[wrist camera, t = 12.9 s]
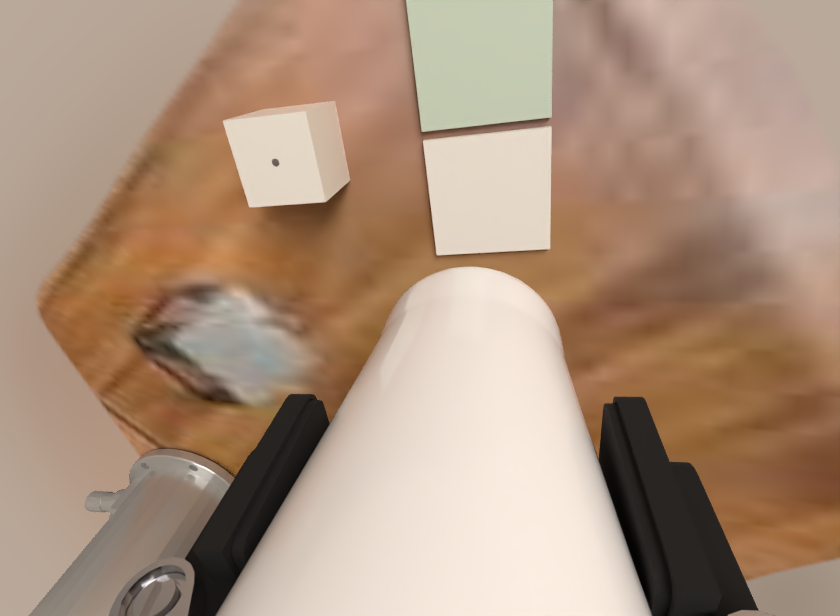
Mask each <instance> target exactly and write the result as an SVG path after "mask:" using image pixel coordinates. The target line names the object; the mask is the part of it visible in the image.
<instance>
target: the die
mask: <svg viewBox="0 0 840 616" xmlns="http://www.w3.org/2000/svg"><path fill="white" fill-rule="evenodd" d="M223 123H224V127H225V130H226V133H227V136H228V140H229V143H230V146H231V149H232V153H233V156H234V159H235V162H236V166H237V169H238V172H239V175H240V178H241V182H242V185H243V188H244V191H245V195H246V198H247V201H248V204H249V208H250V207H264V206H278V205H292V204H306V203H320V202H326V201H328V200H329V199H330V198H331V197H332V196H333V195H334V194H335V193H337V192H338V191H339V190H340V189H341V188H342V187H343V186H344V185H346V184H347V183H348V182H349V181H350V177H349V172H348V166H347V161H346V156H345V151H344V145H343V140H342V135H341V130H340V125H339V119H338V114H337V109H336V104H335V101H330V102H322V103H313V104H305V105H297V106H288V107H280V108H271V109H263V110H259V111H256V112H252V113H249V114H245V115H241V116H238V117H234V118H231V119H227V120H224V121H223Z"/></svg>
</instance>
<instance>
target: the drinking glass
mask: <svg viewBox="0 0 840 616" xmlns="http://www.w3.org/2000/svg"><path fill="white" fill-rule="evenodd" d="M215 616H652V613H651V610H650V607H649V604H648V601H647V598H646V595H645V592H644V590H643V587H642V584H641V581H640V578H639V575H638V572H637V569H636V567H635V564H634V561H633V558H632V555H631V552H630V549H629V546H628V544H627V541H626V538H625V535H624V532H623V529H622V526H621V523H620V521H619V518H618V515H617V512H616V509H615V506H614V503H613V500H612V497H611V494H610V491H609V489H608V486H607V483H606V480H605V477H604V474H603V471H602V468H601V465H600V462H599V459H598V456H597V454H596V451H595V448H594V445H593V442H592V439H591V436H590V433H589V430H588V427H587V424H586V421H585V418H584V415H583V412H582V409H581V406H580V403H579V400H578V397H577V394H576V391H575V388H574V385H573V382H572V379H571V376H570V373H569V370H568V367H567V364H566V359H565V354H564V349H563V344H562V339H561V334H560V331H559V327H558V324H557V322H556V320H555V317H554V315H553V313H552V312H551V310H550V308H549V307H548V305H547V304H546V303H545V301H544V300H543V299H542V298H541V297H540V296H539V295H538V294H537V293H536V292H535V291H534V290H533V289H532V288H531V287H529V286H528V285H526V284H525V283H524V282H522V281H520V280H518V279H517V278H515V277H513V276H510V275H508V274H506V273H503V272H500V271H497V270H493V269H488V268H482V267H457V268H451V269H446V270H443V271H439V272H436V273H434V274H431V275H429V276H427V277H425V278H423V279H421V280H420V281H418V282H417V283H415V284H414V285H413V286H411V287H410V288H409V289H408V290H407V291H406V292H405V293H404V294H403V295H402V296H401V297H400V298H399V300H398V301H397V302H396V304H395V305H394V307H393V309H392V310H391V312H390V314H389V317H388V319H387V321H386V323H385V326H384V328H383V330H382V333H381V335H380V337H379V340H378V342H377V343H376V345H375V347H374V349H373V350H372V352H371V354H370V356H369V357H368V359H367V361H366V363H365V364H364V366H363V368H362V369H361V371H360V373H359V375H358V376H357V378H356V380H355V382H354V383H353V385H352V387H351V388H350V390H349V392H348V393H347V395H346V397H345V399H344V400H343V402H342V404H341V405H340V407H339V409H338V410H337V412H336V414H335V416H334V417H333V419H332V421H331V422H330V424H329V426H328V427H327V429H326V431H325V432H324V434H323V436H322V438H321V439H320V441H319V443H318V444H317V446H316V448H315V449H314V451H313V453H312V454H311V456H310V458H309V459H308V461H307V463H306V465H305V466H304V468H303V470H302V471H301V473H300V475H299V476H298V478H297V480H296V481H295V483H294V485H293V486H292V488H291V490H290V491H289V493H288V495H287V496H286V498H285V500H284V501H283V503H282V505H281V506H280V508H279V510H278V511H277V513H276V515H275V516H274V518H273V520H272V521H271V523H270V525H269V526H268V528H267V530H266V531H265V533H264V535H263V536H262V538H261V540H260V541H259V543H258V545H257V546H256V548H255V550H254V551H253V553H252V555H251V557H250V558H249V560H248V562H247V563H246V565H245V567H244V568H243V570H242V572H241V573H240V575H239V577H238V578H237V580H236V582H235V583H234V585H233V587H232V588H231V590H230V592H229V593H228V595H227V597H226V598H225V600H224V602H223V603H222V605H221V607H220V608H219V610H218V612H217V613H216V615H215Z"/></svg>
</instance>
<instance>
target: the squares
mask: <svg viewBox="0 0 840 616" xmlns="http://www.w3.org/2000/svg"><path fill="white" fill-rule="evenodd" d="M406 4H407V13H408V21H409V29H410V38H411V46H412V54H413V63H414V71H415V79H416V87H417V96H418V104H419V112H420V121H421V129H422V132H426V131H434V130H443V129H452V128H461V127H470V126H479V125H488V124H497V123H505V122H514V121H523V120H532V119H541V118H550V117H552V27H553V0H406ZM423 146H424V154H425V162H426V171H427V179H428V187H429V196H430V204H431V212H432V221H433V229H434V237H435V246H436V254H437V255H452V254H470V253H488V252H506V251H524V250H542V249H550V207H551V126H547V127H538V128H529V129H520V130H511V131H501V132H492V133H483V134H474V135H465V136H456V137H446V138H437V139H428V140H424V141H423Z"/></svg>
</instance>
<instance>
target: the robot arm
mask: <svg viewBox="0 0 840 616" xmlns="http://www.w3.org/2000/svg"><path fill="white" fill-rule="evenodd" d="M328 426H329V421H328V417H327V414H326V411H325V407H324V404H323V402H322V401H320V400H317V398H316V396H315V395H313V394H291V395H289V396H288V397H287V398H286V400H285V401H284V403H283V405H282V406H281V408H280V410H279V411H278V413H277V414H276V416H275V418H274V419H273V421H272V423H271V424H270V426H269V427H268V429H267V431H266V432H265V434H264V436H263V437H262V439H261V440H260V442H259V444H258V445H257V447H256V449H255V450H253V451H252V452H251V454H250V455H249V456H248V458H247V459H246V461H245V462H244V464H243V466H242V467H241V469H240V470H239V472H238V474H237V475H236V477H235V478H234V477H233V476H232V475H231V474H230V473H228V472H227V471H226V470H225V469H223V468H222V467H220V466H219V465H217V464H216V463H214V462H212V461H210V460H208V459H206V458H204V457H202V456H199V455H197V454H194V453H191V452H187V451H183V450H177V449H157V450H153V451H149V452H147V453H145V454H143V455H142V456H141V457H140V458H139V459H138V460H137V461H136V462H135V464H134V465H133V467H132V468H131V470H130V474H129V479H130V485H129V486H128V487H127V488H126V490H125V489H122V490H119V491H117V492H116V493H113V492H103V491H94V492H92V493H90V494H89V495H88V496H87V498H86V501H85V508H86V510H88V511H94V512H110V513H111V515H110V516H109V520H108V521H107V522H106V524H105V525H104V526H103V527H102V528H101V530H100V531H99V532H98V533H97V534H96V536H95V537H94V538H93V539H92V540H91V542H90V543H89V544H88V545H87V546H86V548H85V549H84V550H83V551H82V553H81V554H80V555H79V556H78V557H77V559H76V560H75V561H74V562H73V563H72V565H71V566H70V567H69V568H68V569H67V570H66V572H65V573H64V574H63V575H62V576H61V578H60V579H59V580H58V582H57V583H56V584H55V585H54V586H53V587H52V589H51V590H50V591H49V592H48V593H47V595H46V596H45V597H44V598H43V599H42V601H41V602H40V603H39V604H38V605H37V607H36V608H35V609H34V610H33V612H32V613H31V614H30V615H29V616H215V615H216V613H217V612H218V610H219V608H220V607H221V605H222V603H223V602H224V600H225V598H226V597H227V595H228V593H229V592H230V590H231V588H232V587H233V585H234V583H235V582H236V580H237V578H238V577H239V575H240V573H241V572H242V570H243V568H244V567H245V565H246V563H247V562H248V560H249V558H250V557H251V555H252V553H253V551H254V550H255V548H256V546H257V545H258V543H259V541H260V540H261V538H262V536H263V535H264V533H265V531H266V530H267V528H268V526H269V525H270V523H271V521H272V520H273V518H274V516H275V515H276V513H277V511H278V510H279V508H280V506H281V505H282V503H283V501H284V500H285V498H286V496H287V495H288V493H289V491H290V490H291V488H292V486H293V485H294V483H295V481H296V480H297V478H298V476H299V475H300V473H301V471H302V470H303V468H304V466H305V465H306V463H307V461H308V459H309V458H310V456H311V454H312V453H313V451H314V449H315V448H316V446H317V444H318V443H319V441H320V439H321V438H322V436H323V434H324V432H325V431H326V429H327V427H328ZM599 462H600V465H601V468H602V471H603V474H604V477H605V480H606V483H607V486H608V489H609V491H610V494H611V497H612V500H613V503H614V506H615V509H616V512H617V515H618V518H619V521H620V523H621V526H622V529H623V532H624V535H625V538H626V541H627V544H628V546H629V549H630V552H631V555H632V558H633V561H634V564H635V567H636V569H637V572H638V575H639V578H640V581H641V584H642V587H643V590H644V592H645V595H646V598H647V601H648V604H649V607H650V610H651V613H652V616H774V615H771V614H768V613H764V612H761V611H759V610H758V608H757V606H756V604H755V602H754V599H753V597H752V595H751V593H750V590H749V588H748V586H747V584H746V581H745V579H744V577H743V575H742V572H741V570H740V568H739V566H738V563H737V561H736V559H735V557H734V554H733V552H732V550H731V548H730V546H729V543H728V541H727V539H726V537H725V534H724V532H723V530H722V528H721V525H720V523H719V521H718V519H717V516H716V514H715V512H714V510H713V507H712V505H711V503H710V501H709V498H708V496H707V494H706V492H705V489H704V487H703V485H702V483H701V481H700V478H699V476H698V474H697V472H696V470H695V468H694V467H693V466H692V465H691V464H690V463H685V462H669V459H668V457H667V454H666V452H665V449H664V447H663V444H662V442H661V439H660V437H659V434H658V431H657V429H656V426H655V424H654V421H653V419H652V416H651V414H650V411H649V408H648V406H647V403H646V401H645V399H644V398H643V397H614V399H613V404H604V408H603V418H602V429H601V440H600V451H599Z"/></svg>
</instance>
